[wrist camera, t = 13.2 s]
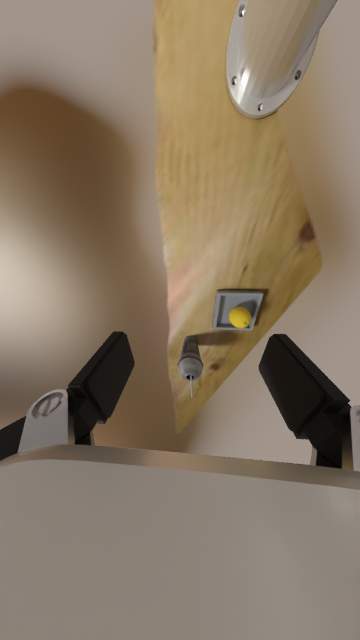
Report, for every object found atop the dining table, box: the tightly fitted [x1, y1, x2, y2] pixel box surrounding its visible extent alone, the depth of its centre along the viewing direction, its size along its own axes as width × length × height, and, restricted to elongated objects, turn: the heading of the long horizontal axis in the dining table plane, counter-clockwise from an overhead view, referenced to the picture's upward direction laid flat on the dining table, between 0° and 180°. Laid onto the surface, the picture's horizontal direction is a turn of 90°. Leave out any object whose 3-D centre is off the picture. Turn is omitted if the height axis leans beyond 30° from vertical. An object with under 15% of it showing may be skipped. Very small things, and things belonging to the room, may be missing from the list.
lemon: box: [229, 307, 251, 328], centre depth 38 cm, size 6×6×8 cm
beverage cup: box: [178, 336, 203, 397], centre depth 41 cm, size 7×7×20 cm
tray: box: [212, 290, 263, 331], centre depth 41 cm, size 12×12×2 cm
